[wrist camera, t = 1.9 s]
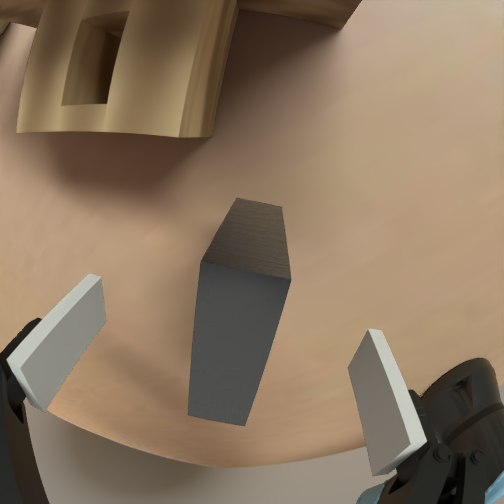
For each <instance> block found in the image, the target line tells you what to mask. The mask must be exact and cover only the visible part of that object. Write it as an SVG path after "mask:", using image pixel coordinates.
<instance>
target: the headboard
mask: <svg viewBox="0 0 504 504" xmlns="http://www.w3.org/2000/svg"><path fill="white" fill-rule="evenodd" d="M361 1H362V0H0V20H5V21H9V22H14V23H18V24H22V25H26V26H30V27H34V28H37V30H36V33H35V37H34V40H33V43H32V47H31V51H30V54H29V58H28V63H27V67H26V71H25V76H24V81H23V86H22V92H21V98H20V105H19V113H18V121H17V132H16V133H27V132H51V131H94V132H119V133H136V134H149V135H160V136H170V137H212V132H213V127H214V121H215V116H216V111H217V105H218V100H219V95H220V90H221V85H222V81H223V76H224V71H225V67H226V62H227V58H228V53H229V49H230V45H231V41H232V37H233V32H234V28H235V24H236V20H237V17H238V13H239V10H246V11H255V12H263V13H270V14H276V15H282V16H288V17H293V18H298V19H303V20H307V21H312V22H316V23H320V24H324V25H328V26H331V27H335V28H338V29H342V28H343V27H344V25H345V24H346V22H347V21H348V19H349V18H350V16H351V15H352V14H353V12H354V11H355V9H356V8H357V7H358V5H359V4H360V2H361Z"/></svg>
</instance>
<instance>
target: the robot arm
mask: <svg viewBox="0 0 504 504" xmlns="http://www.w3.org/2000/svg"><path fill="white" fill-rule="evenodd" d="M105 322H106V314H105V305H104V297H103V286H102V277H100V276H96V275H93V274H88V275H87V276H86V277H85V278H84V279H83V280H82V281H81V282H80V283H79V284H78V285H77V286H76V287H74V288H73V289H72V290H71V291H70V292H69V293H68V294H67V295H66V296H65V297H64V298H63V299H62V300H61V301H60V302H59V303H58V304H57V305H56V306H55V307H54V308H53V309H52V310H51V311H50V312H49V313H48V314H47V315H46V316H45V317H44V318H43V319H40V318H36V319H34V320H33V321H31V322H29V323H28V324H27V325H26V326H25V327H24V328H23V329H22V331H20V332H19V333H18V334H17V337H15V338H14V339H13V340H12V341H11V342H10V343H9V344H8V345H7V346H6V348H5V349H4V350H3V351H2V352H1V353H0V504H49V501H48V499H47V496H46V493H45V490H44V487H43V484H42V481H41V478H40V474H39V471H38V467H37V464H36V460H35V456H34V452H33V448H32V444H31V439H30V434H29V428H28V423H27V417H26V410H25V405H24V403H23V400H24V399H25V397H27V399H28V401H29V402H30V404H31V405H32V406H34V407H35V408H37V409H39V410H41V411H42V412H45V411H46V409H47V407H48V406H49V404H50V403H51V401H52V399H53V398H54V396H55V395H56V393H57V392H58V390H59V388H60V387H61V385H62V384H63V382H64V381H65V379H66V378H67V376H68V375H69V373H70V372H71V370H72V369H73V367H74V366H75V364H76V363H77V362H78V360H79V359H80V357H81V356H82V354H83V353H84V351H85V350H86V349H87V347H88V346H89V344H90V343H91V342H92V340H93V339H94V337H95V336H96V335H97V333H98V332H99V331H100V329H101V328H102V326H103V325H104V324H105ZM348 371H349V375H350V379H351V383H352V386H353V390H354V394H355V398H356V402H357V407H358V411H359V415H360V419H361V424H362V428H363V432H364V437H365V442H366V446H367V451H368V456H369V461H370V466H371V471H372V476H377V475H384V474H388V473H390V472H391V471H392V470H393V469H395V468H396V470H397V474H396V475H394V476H393V477H392V478H390V479H389V480H386V481H385V482H384V483H382V484H379V485H377V486H374V487H372V488H369V489H367V490H366V491H364V492H363V493H362V494H361V495H360V497H359V498H358V500H357V503H356V504H492V503H493V502H495V501H496V500H497V499H499V498H500V497H501V496H502V495H504V405H503V403H502V402H501V399H500V393H499V388H498V383H497V379H496V374H495V370H494V368H493V367H492V365H491V364H490V362H489V361H488V360H487V359H484V358H476V359H472V360H469V361H467V362H465V363H463V364H461V365H459V366H457V367H455V368H454V369H452V370H451V371H449V372H448V373H447V374H445V375H444V376H443V377H441V378H440V379H439V380H438V381H437V382H436V383H435V384H433V385H432V386H431V387H430V389H429V390H428V391H427V392H426V393H425V394H424V396H423V397H422V399H421V398H420V397H419V396H418V394H417V393H416V392H415V391H414V390H407V387H406V385H405V382H404V380H403V378H402V375H401V373H400V371H399V368H398V366H397V364H396V362H395V359H394V357H393V355H392V353H391V350H390V348H389V346H388V344H387V342H386V340H385V337H384V335H383V333H382V331H381V330H375V329H368V330H367V332H366V334H365V336H364V338H363V340H362V342H361V344H360V346H359V348H358V350H357V352H356V353H355V355H354V357H353V359H352V361H351V363H350V364H349V366H348ZM438 442H439V443H438Z"/></svg>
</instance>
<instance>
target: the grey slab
mask: <svg viewBox="0 0 504 504" xmlns="http://www.w3.org/2000/svg"><path fill="white" fill-rule="evenodd" d="M290 283H291V272H290V264H289V256H288V248H287V241H286V233H285V226H284V219H283V212H282V207H280V206H276V205H271V204H266V203H261V202H256V201H251V200H246V199H240V198H236V200H235V201H234V203H233V205H232V207H231V208H230V210H229V212H228V214H227V215H226V217H225V219H224V221H223V222H222V224H221V226H220V228H219V229H218V231H217V233H216V235H215V237H214V238H213V240H212V242H211V244H210V246H209V247H208V249H207V251H206V253H205V255H204V256H203V258H202V260H201V263H200V272H199V281H198V290H197V300H196V309H195V320H194V331H193V343H192V355H191V369H190V385H189V402H188V415H190V416H194V417H198V418H203V419H208V420H212V421H217V422H223V423H228V424H234V425H240V426H245V424H246V421H247V419H248V416H249V413H250V410H251V407H252V404H253V401H254V398H255V395H256V392H257V390H258V387H259V384H260V381H261V377H262V374H263V371H264V368H265V365H266V362H267V359H268V356H269V353H270V350H271V346H272V343H273V340H274V337H275V333H276V330H277V327H278V324H279V320H280V317H281V314H282V310H283V307H284V303H285V300H286V297H287V293H288V290H289V286H290Z"/></svg>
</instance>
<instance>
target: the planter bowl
mask: <svg viewBox="0 0 504 504" xmlns="http://www.w3.org/2000/svg"><path fill="white" fill-rule="evenodd" d="M8 24H9V21H5V20H0V35H1V34H2V32H3V31H4V30H5V28H6V27H7V25H8Z"/></svg>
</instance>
